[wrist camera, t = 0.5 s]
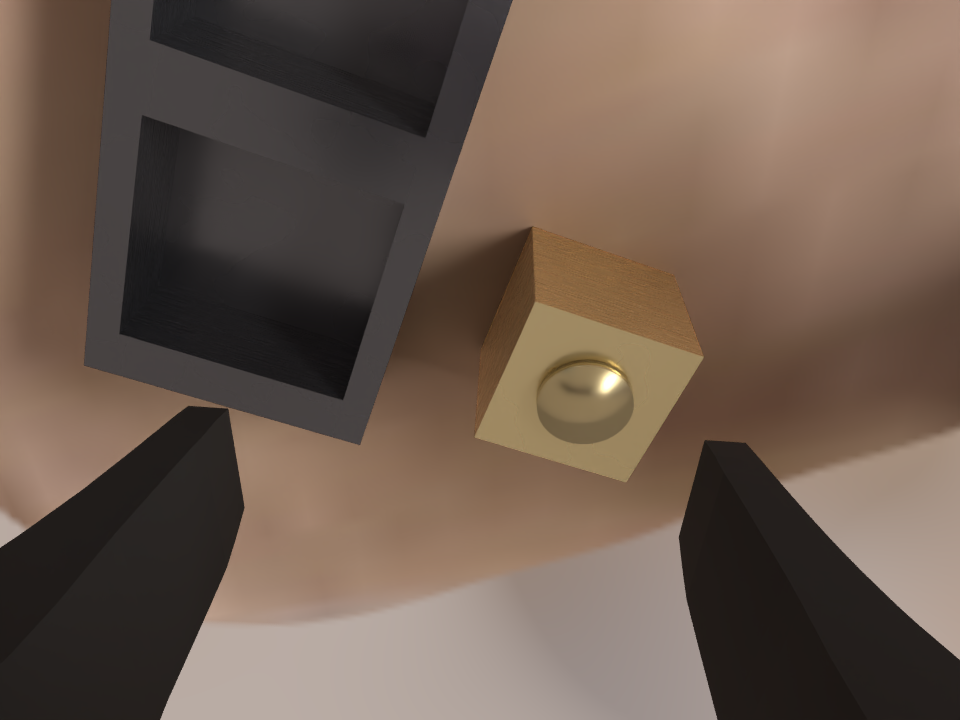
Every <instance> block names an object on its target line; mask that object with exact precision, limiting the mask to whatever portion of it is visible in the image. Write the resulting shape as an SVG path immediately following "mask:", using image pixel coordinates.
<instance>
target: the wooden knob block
mask: <svg viewBox="0 0 960 720" xmlns="http://www.w3.org/2000/svg"><path fill="white" fill-rule="evenodd" d="M703 358H704V356H703V353H702V350H701V348H700V345H699V342H698V339H697V337H696V334H695V331H694V328H693V326H692V323H691V320H690V317H689V315H688V312H687V309H686V306H685V304H684V301H683V298H682V296H681V293H680V290H679V287H678V285H677V282H676V279H675V276H674V275H672V274H669V273H666V272H663V271H661V270H658V269H655V268H652V267H649V266H646V265H643V264H640V263H637V262H634V261H632V260H629V259H626V258H623V257H620V256H617V255H614V254H611V253H608V252H605V251H603V250H600V249H597V248H594V247H591V246H588V245H585V244H582V243H579V242H576V241H574V240H571V239H568V238H565V237H562V236H559V235H556V234H553V233H550V232H547V231H545V230H542V229H539V228H536V227H533V226H532V229H531V231H530V233H529V236H528V238H527V241H526V243H525V245H524V248H523V250H522V253H521V255H520V257H519V260H518V262H517V264H516V267H515V269H514V272H513V274H512V276H511V279H510V281H509V284H508V286H507V288H506V291H505V293H504V295H503V298H502V300H501V303H500V305H499V307H498V310H497V312H496V314H495V317H494V319H493V322H492V324H491V326H490V329H489V331H488V334H487V336H486V338H485V341H484V343H483V345H482V348H481V354H480V367H479V381H478V395H477V408H476V422H475V436H474V438H478V439H481V440H484V441H488V442H491V443H494V444H498V445H501V446H504V447H508V448H511V449H515V450H518V451H521V452H525V453H528V454H531V455H535V456H538V457H541V458H545V459H548V460H552V461H555V462H558V463H562V464H565V465H568V466H572V467H575V468H578V469H582V470H585V471H589V472H592V473H595V474H599V475H602V476H605V477H609V478H612V479H615V480H619V481H622V482H625V483H626V482H627V481H628V479H629V477H630V476H631V474H632V472H633V471H634V469H635V468H636V466H637V464H638V463H639V461H640V460H641V458H642V456H643V455H644V453H645V452H646V450H647V448H648V447H649V445H650V443H651V442H652V440H653V439H654V437H655V435H656V434H657V432H658V431H659V429H660V427H661V426H662V424H663V422H664V421H665V419H666V418H667V416H668V414H669V413H670V411H671V410H672V408H673V406H674V405H675V403H676V402H677V400H678V398H679V397H680V395H681V393H682V392H683V390H684V389H685V387H686V385H687V384H688V382H689V381H690V379H691V377H692V376H693V374H694V373H695V371H696V369H697V368H698V366H699V364H700V363H701V361H702V360H703Z"/></svg>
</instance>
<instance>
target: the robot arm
mask: <svg viewBox="0 0 960 720" xmlns="http://www.w3.org/2000/svg"><path fill="white" fill-rule="evenodd" d="M244 508H245V507H244V501H243V495H242V489H241V483H240V477H239V471H238V465H237V459H236V453H235V447H234V441H233V435H232V429H231V423H230V418H229V412H228V409H225V408H210V407H195V406H188V407H186V408H185V409H184V410H182V411H181V412H180V413H178V414H177V415H176V416H175V417H173V418H172V419H171V420H170V421H168V422H167V423H166V424H165V425H163V426H162V427H161V428H160V429H158V430H157V431H156V432H155V433H153V434H152V435H151V436H150V437H149V438H147V439H146V440H145V441H144V442H142V443H141V444H140V445H139V446H137V447H136V448H135V449H134V450H132V451H131V452H130V453H129V454H128V455H126V456H125V457H124V458H122V459H121V460H120V461H119V462H117V463H116V464H115V465H114V466H112V467H111V468H110V469H108V470H107V471H106V472H105V473H103V474H102V475H101V476H99V477H98V478H97V479H96V480H94V481H93V482H92V483H91V484H89V485H88V486H87V487H85V488H84V489H83V490H81V491H80V492H79V493H77V494H76V495H75V496H73V497H72V498H70V499H69V500H68V501H66V502H65V503H63V504H62V505H61V506H59V507H58V508H56V509H55V510H54V511H52V512H51V513H49V514H48V515H47V516H45V517H44V518H43V519H41V520H40V521H38V522H37V523H36V524H34V525H33V526H31V527H30V528H29V529H27V530H26V531H24V532H23V533H22V534H20V535H19V536H17V537H16V538H14V539H13V540H11V541H10V542H8V543H7V544H5V545H4V546H2V547H1V548H0V720H160V718H161V716H162V713H163V711H164V708H165V706H166V703H167V701H168V698H169V696H170V694H171V692H172V690H173V687H174V685H175V683H176V681H177V679H178V676H179V674H180V672H181V670H182V667H183V665H184V663H185V661H186V659H187V656H188V654H189V652H190V650H191V647H192V645H193V643H194V641H195V638H196V636H197V634H198V631H199V630H200V627H201V625H202V623H203V621H204V618H205V616H206V614H207V612H208V609H209V607H210V605H211V603H212V600H213V598H214V596H215V594H216V591H217V589H218V587H219V584H220V582H221V580H222V577H223V575H224V573H225V570H226V568H227V565H228V562H229V559H230V556H231V552H232V549H233V546H234V543H235V540H236V536H237V532H238V529H239V525H240V522H241V518H242V515H243V511H244ZM679 542H680V551H681V560H682V568H683V576H684V583H685V590H686V598H687V603H688V606H689V610H690V615H691V619H692V622H693V627H694V631H695V635H696V639H697V643H698V647H699V650H700V654H701V658H702V662H703V666H704V670H705V673H706V677H707V681H708V685H709V689H710V692H711V696H712V700H713V704H714V708H715V711H716V715H717V719H718V720H960V660H959V659H958V658H957V657H956V656H954V655H953V654H952V653H951V652H950V651H949V650H947V649H946V648H945V647H944V646H942V645H941V644H940V643H939V642H938V641H937V640H936V639H934V638H933V637H932V636H931V635H930V634H929V633H927V632H926V631H925V630H924V629H923V628H922V627H920V626H919V625H918V624H917V623H916V622H915V621H914V620H912V619H911V618H910V617H909V616H908V615H907V614H906V613H905V612H904V611H902V610H901V609H900V608H899V607H898V606H897V605H896V604H895V603H894V602H893V601H892V600H891V599H890V598H889V597H888V596H887V595H886V594H885V593H884V592H883V591H881V590H880V589H879V588H878V587H877V586H876V585H875V584H874V583H873V582H872V581H871V580H870V579H869V578H868V577H867V576H866V575H865V574H864V573H863V572H862V571H861V570H860V569H859V568H858V567H857V566H856V565H855V564H854V563H853V562H852V561H851V560H850V559H849V558H848V557H847V556H846V555H845V554H844V553H843V552H842V551H841V550H840V549H839V547H838V546H836V544H835V543H834V542H833V541H832V540H831V539H830V538H829V537H828V536H827V535H826V534H825V533H824V531H823V530H822V529H821V528H820V527H819V526H818V525H817V524H816V523H815V522H814V521H813V520H812V518H811V517H810V516H809V515H808V514H807V513H806V512H805V510H804V509H803V508H802V507H801V506H800V505H799V504H798V503H797V501H796V500H795V499H794V498H793V497H792V496H791V495H790V493H789V492H788V491H787V490H786V489H785V488H784V487H783V485H782V484H781V483H780V482H779V481H778V480H777V478H776V477H775V476H774V475H773V474H772V473H771V471H770V470H769V469H768V468H767V467H766V466H765V464H764V463H763V462H762V461H761V460H760V459H759V458H758V456H757V455H756V454H755V453H754V452H753V451H752V450H751V448H750V447H749V446H748V445H747V444H746V443H739V442H724V441H708V440H705V441H704V445H703V449H702V452H701V456H700V460H699V464H698V467H697V471H696V475H695V479H694V482H693V486H692V490H691V493H690V497H689V501H688V505H687V508H686V512H685V516H684V520H683V523H682V527H681V531H680V535H679Z"/></svg>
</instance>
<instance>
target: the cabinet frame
mask: <svg viewBox="0 0 960 720" xmlns="http://www.w3.org/2000/svg"><path fill="white" fill-rule="evenodd" d="M512 1H513V0H111V12H110V25H109V39H108V52H107V65H106V79H105V92H104V106H103V119H102V132H101V146H100V159H99V172H98V186H97V199H96V212H95V226H94V239H93V252H92V266H91V279H90V292H89V306H88V319H87V332H86V346H85V359H84V366H88V367H91V368H95V369H98V370H102V371H105V372H109V373H112V374H116V375H119V376H123V377H126V378H129V379H133V380H136V381H140V382H143V383H147V384H150V385H154V386H157V387H161V388H164V389H168V390H171V391H174V392H178V393H181V394H185V395H188V396H192V397H195V398H199V399H202V400H206V401H209V402H213V403H216V404H220V405H223V406H226V407H230V408H233V409H237V410H240V411H244V412H247V413H251V414H254V415H258V416H261V417H265V418H268V419H271V420H275V421H278V422H282V423H285V424H289V425H292V426H296V427H299V428H303V429H306V430H310V431H313V432H316V433H320V434H323V435H327V436H330V437H334V438H337V439H341V440H344V441H348V442H351V443H355V444H358V445H360V443H361V440H362V437H363V434H364V431H365V429H366V426H367V423H368V420H369V417H370V414H371V411H372V408H373V405H374V402H375V399H376V396H377V394H378V391H379V388H380V385H381V382H382V379H383V376H384V373H385V370H386V367H387V364H388V362H389V359H390V356H391V353H392V350H393V347H394V344H395V341H396V338H397V335H398V332H399V330H400V327H401V324H402V321H403V318H404V315H405V312H406V309H407V306H408V303H409V300H410V298H411V295H412V292H413V289H414V286H415V283H416V280H417V277H418V274H419V271H420V268H421V265H422V263H423V260H424V257H425V254H426V251H427V248H428V245H429V242H430V239H431V236H432V233H433V231H434V228H435V225H436V222H437V219H438V216H439V213H440V210H441V207H442V204H443V201H444V199H445V196H446V193H447V190H448V187H449V184H450V181H451V178H452V175H453V172H454V169H455V167H456V164H457V161H458V158H459V155H460V152H461V149H462V146H463V143H464V140H465V137H466V134H467V132H468V129H469V126H470V123H471V120H472V117H473V114H474V111H475V108H476V105H477V102H478V100H479V97H480V94H481V91H482V88H483V85H484V82H485V79H486V76H487V73H488V70H489V68H490V65H491V62H492V59H493V56H494V53H495V50H496V47H497V44H498V41H499V38H500V35H501V33H502V30H503V27H504V24H505V21H506V18H507V15H508V12H509V9H510V6H511V3H512Z"/></svg>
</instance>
